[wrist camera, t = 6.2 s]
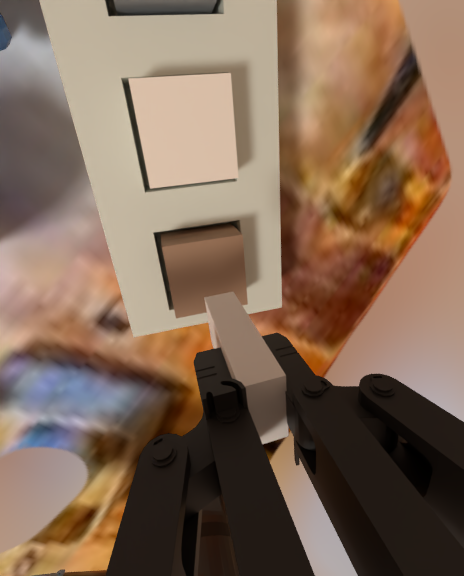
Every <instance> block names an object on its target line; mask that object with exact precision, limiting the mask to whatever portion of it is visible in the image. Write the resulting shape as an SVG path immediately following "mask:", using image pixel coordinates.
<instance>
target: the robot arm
mask: <svg viewBox="0 0 464 576" xmlns="http://www.w3.org/2000/svg"><path fill="white" fill-rule="evenodd" d="M204 299H205V305H206V311H207V317H208V323H209V328H210V334H211V340H212V345H213V348H214V349H211V350H207V351H203V352H199V353H197V354H196V357H195V360H194V366H195V371H196V376H197V381H198V386H199V391H200V395H201V400H202V405H203V410H204V413H203V417H202V419H201V421H200V422H199V424H198V425H197V426H196V427H195V428H194V429H193V430H191V431H190V432H188V433H187V434H185V435H183V436H182V437H181V436H179V435H177V434H169V433H168V434H164V435H160V436H158V437H156V438H154V439H153V440H151V441H150V442H149V443H148V444H147V445H146V446H145V447H144V449H143V451H142V453H141V455H140V457H139V461H138V464H137V468H136V471H135V475H134V478H133V482H132V485H131V489H130V492H129V496H128V499H127V503H126V506H125V510H124V513H123V516H122V520H121V523H120V527H119V530H118V534H117V537H116V541H115V544H114V548H113V551H112V555H111V558H110V562H109V565H108V569H107V570H103V571H85V572H67V573H64V572H65V570H59V571H58V572H57V573H51V574H42V575H33V576H315V575H314V573H313V570H312V567H311V565H310V563H309V560H308V558H307V555H306V552H305V550H304V547H303V545H302V542H301V540H300V537H299V535H298V532H297V530H296V527H295V525H294V522H293V520H292V517H291V515H290V512H289V510H288V507H287V505H286V502H285V500H284V497H283V495H282V492H281V490H280V487H279V485H278V482H277V479H276V477H275V475H274V472H273V469H272V467H271V464H270V462H269V459H268V457H267V454H266V452H265V449H264V447H263V444H265V443H268V442H272V441H275V440H278V439H281V438H284V437H288V436H289V433H288V426H289V428H290V430H291V432H292V434H293V436H294V454H295V462H296V465H299V458H300V460H301V462H302V464H303V466H304V468H305V470H306V472H307V474H308V476H309V478H310V480H311V482H312V484H313V486H314V488H315V490H316V492H317V494H318V496H319V498H320V500H321V502H322V504H323V506H324V508H325V510H326V512H327V514H328V516H329V518H330V520H331V522H332V524H333V526H334V528H335V530H336V532H337V534H338V536H339V538H340V540H341V542H342V544H343V546H344V548H345V550H346V553H347V555H348V556H349V558H350V561H351V563H352V565H353V567H354V569H355V571H356V573H357V574H358V576H464V422H463V421H461V420H459V419H458V418H456V417H455V416H453V415H452V414H450V413H448V412H447V411H445V410H444V409H442V408H440V407H439V406H437V405H436V404H434V403H433V402H431V401H429V400H428V399H426V398H425V397H423V396H421V395H420V394H418V393H416V392H415V391H413V390H412V389H410V388H409V387H407V386H406V385H404V384H402V383H401V382H399V381H398V380H396V379H394V378H392V377H390V376H387V375H383V374H369V375H366V376H364V377H363V378H362V379H361V380H360V384H359V386H358V387H356V386H353V387H351V386H350V387H341V386H333V385H332V384H331V383H330V382H329V381H328V380H327V379H325V378H322V377H320V376H316V375H315V374H314V373H313V372H312V370H311V369H310V368H309V366H308V365H307V364H306V362H305V361H304V360H303V358H302V357H301V356H300V355H299V353H297V351H296V349H295V348H294V347H293V345H292V344H291V343H290V341H289V340H288V339H287V338H286V337H284V336H283V335H281V334H279V333H274V334H270V335H266V336H261V335H260V333H259V332H258V330H257V328H256V327H255V325H254V324H253V322H252V320H251V319H250V317H249V316H248V314H247V312H246V311H245V309H244V308H243V306H242V304H241V303H240V301H239V300H238V298H237V296H236V295H235V293H234V292H228V293H224V294H219V295H214V296H209V297H205V298H204Z"/></svg>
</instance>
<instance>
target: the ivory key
mask: <svg viewBox="0 0 464 576" xmlns="http://www.w3.org/2000/svg"><path fill="white" fill-rule="evenodd" d="M128 80H129V85H130V90H131V95H132V100H133V105H134V110H135V115H136V120H137V125H138V130H139V135H140V140H141V145H142V150H143V155H144V160H145V165H146V170H147V175H148V180H149V185H150V189H151V188H160V187H168V186H176V185H185V184H193V183H202V182H210V181H218V180H227V179H235V178H238V164H237V150H236V137H235V123H234V110H233V96H232V82H231V73H219V74H201V75H183V76H165V77H147V78H130V79H128Z"/></svg>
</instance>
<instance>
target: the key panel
mask: <svg viewBox="0 0 464 576" xmlns="http://www.w3.org/2000/svg"><path fill="white" fill-rule="evenodd" d="M39 2H40V5H41V9H42V12H43V16H44V19H45V23H46V27H47V30H48V34H49V37H50V41H51V44H52V48H53V51H54V55H55V59H56V62H57V66H58V69H59V73H60V76H61V80H62V84H63V87H64V91H65V94H66V98H67V101H68V105H69V108H70V112H71V116H72V119H73V123H74V126H75V130H76V133H77V137H78V141H79V144H80V148H81V151H82V155H83V158H84V162H85V166H86V169H87V173H88V176H89V180H90V183H91V187H92V190H93V194H94V198H95V201H96V205H97V208H98V212H99V215H100V219H101V223H102V226H103V230H104V233H105V237H106V240H107V244H108V247H109V251H110V255H111V258H112V262H113V265H114V269H115V272H116V276H117V280H118V283H119V287H120V290H121V294H122V297H123V301H124V305H125V308H126V312H127V315H128V319H129V322H130V326H131V329H132V333H133V337H138V336H143V335H148V334H153V333H158V332H162V331H167V330H172V329H177V328H182V327H187V326H192V325H197V324H202V323H207V322H208V317H207V313H202V314H197V315H191V316H186V317H181V318H176V316H175V311H174V306H173V301H172V296H171V291H170V286H169V281H168V276H167V271H166V266H165V261H164V256H163V251H162V244H161V234H160V233H165V232H172V231H179V230H186V229H192V228H199V227H206V226H213V225H220V224H227V223H231V224H232V225H233V226H234V227H235V228H236V229H237V230H238V231H239V232H241V233H242V234H243V246H244V259H245V273H246V286H247V300H248V304H247V305H242V306H243V308H244V309H245V311H246V312H247V314H251V313H256V312H261V311H266V310H271V309H276V308H281V307H282V287H281V227H280V167H279V107H278V46H277V0H217V2H216V4H215V6H214V9H213V11H212V13H211V14H196V15H148V16H118V15H117V11H116V7H115V3H114V0H39ZM219 73H231V82H232V96H233V110H234V123H235V137H236V150H237V164H238V178H235V179H227V180H218V181H210V182H202V183H193V184H185V185H176V186H168V187H160V188H151V189H150V185H149V180H148V175H147V170H146V165H145V160H144V155H143V150H142V145H141V140H140V135H139V130H138V125H137V120H136V115H135V110H134V105H133V100H132V95H131V90H130V85H129V80H128V79H130V78H147V77H165V76H183V75H201V74H219Z"/></svg>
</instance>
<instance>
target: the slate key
mask: <svg viewBox="0 0 464 576" xmlns="http://www.w3.org/2000/svg"><path fill="white" fill-rule="evenodd" d="M216 2H217V0H114V3H115V7H116V11H117V15H118V16H148V15H196V14H211V13H212V11H213V9H214V6H215V4H216Z"/></svg>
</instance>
